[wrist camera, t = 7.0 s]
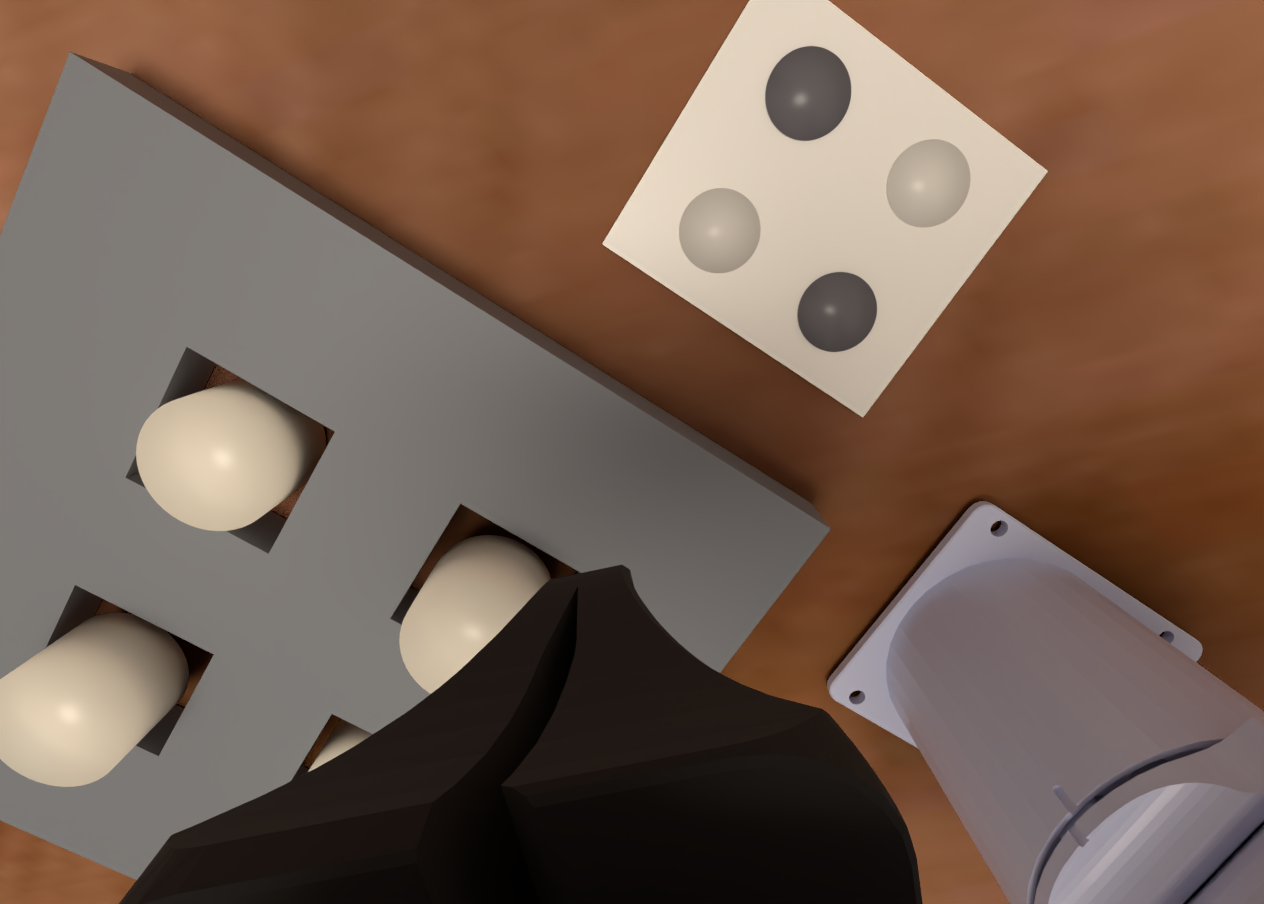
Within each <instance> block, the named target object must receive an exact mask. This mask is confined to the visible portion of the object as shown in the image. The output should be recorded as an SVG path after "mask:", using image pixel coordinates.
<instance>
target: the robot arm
mask: <svg viewBox="0 0 1264 904" xmlns="http://www.w3.org/2000/svg"><path fill="white" fill-rule="evenodd" d="M996 521H1001V526H1000V528H999V529H998V530H996V531H993V532H991V526H992V524H994V523H995V522H996ZM1162 632H1165V633H1164V634H1163V636H1162V637H1160V636H1159V635H1160V634H1161V633H1162ZM1202 651H1203V648H1202V644H1201V643H1200V642H1199V641H1198V640H1196V639H1195V638H1194V637H1192V636H1191V635H1189V634H1188V633H1186V632H1185V631H1183V630H1182V629H1180V628H1179V627H1177V626H1176V625H1174V624H1173V623H1171V622H1170V621H1168V620H1167V619H1165V618H1164V617H1162V616H1161V615H1159V614H1158V613H1156V612H1155V611H1153V610H1152V609H1150V608H1148V607H1147V606H1145V605H1144V604H1142V603H1141V602H1139V601H1138V600H1136V599H1135V598H1133V597H1132V596H1130V595H1129V594H1127V593H1126V592H1124V591H1123V590H1121V589H1120V588H1118V587H1117V586H1115V585H1114V584H1112V583H1111V582H1109V581H1108V580H1106V579H1105V578H1103V577H1102V576H1100V575H1099V574H1097V573H1096V572H1094V571H1093V570H1091V569H1090V568H1088V567H1087V566H1085V565H1084V564H1082V563H1081V562H1079V561H1078V560H1076V559H1075V558H1073V557H1072V556H1070V555H1069V554H1067V553H1066V552H1064V551H1063V550H1061V549H1060V548H1058V547H1057V546H1055V545H1054V544H1052V543H1051V542H1049V541H1048V540H1046V539H1045V538H1043V537H1042V536H1040V535H1039V534H1037V533H1036V532H1034V531H1033V530H1031V529H1030V528H1028V527H1027V526H1025V525H1024V524H1022V523H1021V522H1019V521H1018V520H1016V519H1015V518H1013V517H1012V516H1010V515H1009V514H1007V513H1006V512H1004V511H1003V510H1001V509H1000V508H998V507H997V506H995V505H994V504H992V503H990V502H987V501H979V502H977V503H974V504H973V505H972V506H970V507H969V508H968V509H967V511H966V512H965V513H964V514H963V515H962V517H961V518H960V519H959V520H958V522H957V523H956V524H955V525H954V526H953V528H952V529H951V530H950V531H949V532H948V534H947V535H946V536H945V537H944V539H943V540H942V541H941V542H940V543H939V545H938V546H937V547H936V548H935V550H934V551H933V552H932V553H931V554H930V556H929V557H928V558H927V559H926V560H925V562H924V563H923V564H922V565H921V567H920V568H919V569H918V570H917V571H916V573H915V574H914V575H913V576H912V577H911V579H910V580H909V581H908V582H907V584H906V585H905V586H904V587H903V588H902V590H901V591H900V592H899V593H898V595H897V596H896V597H895V598H894V599H893V601H892V602H891V603H890V604H889V605H888V607H887V608H886V609H885V610H884V612H883V613H882V614H881V615H880V616H879V618H878V619H877V620H876V621H875V622H874V624H873V625H872V626H871V627H870V629H869V630H868V631H867V632H866V633H865V635H864V636H863V637H862V638H861V640H860V641H859V642H858V643H857V644H856V646H855V647H854V648H853V649H852V650H851V652H850V653H849V654H848V655H847V657H846V658H845V659H844V660H843V661H842V663H841V664H840V665H839V666H838V667H837V669H836V670H835V671H834V672H833V674H832V675H831V676H830V677H829V679H828V681H827V688H828V691H829V693H830V695H831V697H832V698H833V699H834V700H835V701H837V702H838V703H840V704H842V705H844V706H845V707H847V708H849V709H851V710H852V711H854V712H856V713H858V714H859V715H861V716H863V717H864V718H866V719H868V720H870V721H871V722H873V723H875V724H877V725H878V726H880V727H882V728H883V729H885V730H887V731H889V732H890V733H892V734H894V735H896V736H897V737H899V738H901V739H902V740H904V741H906V742H908V743H909V744H911V745H913V746H915V747H916V748H918V749H919V750H920V752H921V754H922V756H923V757H924V759H925V761H926V762H927V764H928V766H929V767H930V769H931V771H932V773H933V774H934V776H935V778H936V779H937V781H938V783H939V784H940V786H941V788H942V790H943V791H944V793H945V795H946V796H947V798H948V800H949V801H950V803H951V805H952V807H953V808H954V810H955V812H956V813H957V815H958V817H959V818H960V820H961V822H962V824H963V825H964V827H965V829H966V830H967V832H968V834H969V835H970V837H971V839H972V840H973V842H974V844H975V846H976V847H977V849H978V851H979V852H980V854H981V856H982V857H983V859H984V861H985V863H986V864H987V866H988V868H989V869H990V871H991V873H992V874H993V876H994V878H995V880H996V881H997V883H998V885H999V886H1000V888H1001V890H1002V891H1003V893H1004V895H1005V897H1006V898H1007V900H1008V902H1009V903H1010V904H1264V711H1263V710H1261V709H1260V708H1258V707H1257V706H1256V705H1254V704H1253V703H1251V702H1250V701H1249V700H1247V699H1246V698H1245V697H1243V696H1242V695H1240V694H1239V693H1238V692H1236V691H1235V690H1234V689H1232V688H1231V687H1229V686H1228V685H1227V684H1225V683H1224V682H1222V681H1221V680H1220V679H1218V678H1217V677H1216V676H1214V675H1213V674H1211V673H1210V672H1209V671H1207V670H1206V669H1204V668H1203V667H1202V666H1200V665H1199V664H1198V663H1196V662H1197V661H1198V659H1199V658H1200V657H1201V655H1202ZM857 690H859V691H861V692H860V694H859V695H858V696H855V697H850V694H851V693H852V692H854V691H857ZM119 904H922V896H921V888H920V881H919V873H918V865H917V858H916V854H915V851H914V847H913V844H912V841H911V837H910V834H909V831H908V828H907V826H906V824H905V822H904V820H903V818H902V816H901V814H900V812H899V810H898V808H897V806H896V804H895V803H894V801H893V800H892V798H891V796H890V795H889V793H888V792H887V790H886V788H885V787H884V785H883V784H882V782H881V781H880V779H879V778H878V776H877V775H876V774H875V772H874V771H873V769H872V768H871V766H870V765H869V764H868V762H867V761H866V760H865V758H864V757H863V756H862V754H861V753H860V751H859V750H858V749H857V747H856V746H855V745H854V744H853V742H852V741H851V740H850V739H849V737H848V736H847V735H846V734H845V733H844V731H843V730H842V729H841V728H840V727H839V725H838V724H837V723H836V722H835V721H834V719H833V718H832V717H831V716H830V715H829V714H828V713H827V712H826V711H824V710H823V709H820V708H816V707H812V706H808V705H804V704H800V703H796V702H793V701H789V700H785V699H781V698H777V697H773V696H770V695H767V694H765V693H762V692H760V691H757V690H755V689H752V688H750V687H747V686H744V685H742V684H740V683H738V682H736V681H734V680H731V679H730V678H728V677H726V676H724V675H723V674H721V673H719V672H717V671H715V670H714V669H712V668H710V667H709V666H707V665H706V664H705V663H703V662H702V661H700V660H699V659H698V658H696V657H695V656H694V655H693V654H691V653H690V652H689V651H688V650H686V649H685V648H684V647H683V646H682V645H681V644H679V643H678V642H677V641H676V640H675V639H674V638H673V637H672V636H671V635H670V634H669V633H668V632H667V631H666V630H665V629H664V628H663V626H662V625H661V624H660V623H659V622H658V621H657V620H656V618H655V617H654V616H653V615H652V613H651V612H650V611H649V609H648V608H647V607H646V605H645V604H644V603H643V601H642V600H641V598H640V597H639V595H638V593H637V592H636V590H635V588H634V584H633V579H632V575H631V571H630V569H628V568H627V567H625V566H624V565H617V566H613V567H608V568H603V569H598V570H593V571H588V572H583V573H578V574H574V575H569V576H564V577H559V578H554V579H550V580H549V581H548V582H546V583H545V584H544V585H543V586H542V587H541V588H540V589H539V590H538V591H537V592H536V593H535V594H534V596H533V597H532V598H531V599H530V600H529V601H528V602H527V603H526V604H525V605H524V606H523V607H522V609H521V610H520V611H519V612H518V613H517V614H516V615H515V616H514V617H513V618H512V619H511V620H510V621H509V622H508V623H507V625H506V626H505V627H504V628H503V629H502V630H501V631H500V632H499V633H498V634H497V635H496V636H495V637H494V638H493V639H492V640H491V641H490V642H489V643H488V644H487V645H486V646H485V647H484V648H483V649H481V650H480V651H479V652H478V653H477V654H476V655H475V656H474V657H473V658H472V659H471V660H470V661H469V662H468V663H467V664H466V665H465V666H464V667H463V668H462V669H460V670H459V671H458V672H457V673H456V674H455V675H454V676H452V677H451V678H450V679H449V680H448V681H446V682H445V683H444V684H443V685H442V686H440V687H439V688H438V689H437V690H435V691H434V692H433V693H431V694H430V695H429V696H427V697H426V698H425V699H424V700H422V701H421V702H420V703H418V704H417V705H416V706H414V707H413V708H412V709H410V710H409V711H407V712H406V713H405V714H403V715H402V716H400V717H399V718H397V719H396V720H394V721H392V722H391V723H389V724H388V725H386V726H385V727H383V728H382V729H380V730H379V731H377V732H376V733H374V734H372V735H371V736H369V737H368V738H366V739H365V740H363V741H362V742H360V743H359V744H357V745H356V746H354V747H352V748H351V749H349V750H347V751H346V752H344V753H342V754H340V755H339V756H337V757H335V758H333V759H331V760H330V761H328V762H326V763H324V764H323V765H321V766H319V767H317V768H315V769H313V770H311V771H310V772H308V773H306V774H304V775H302V776H300V777H298V778H296V779H294V780H292V781H290V782H288V783H286V784H285V785H283V786H281V787H278V788H276V789H274V790H272V791H270V792H268V793H266V794H264V795H262V796H260V797H258V798H255V799H253V800H251V801H249V802H246V803H244V804H242V805H240V806H237V807H235V808H233V809H230V810H228V811H226V812H224V813H221V814H219V815H217V816H215V817H212V818H210V819H208V820H206V821H203V822H201V823H199V824H197V825H194V826H192V827H190V828H187V829H185V830H182V831H180V832H177V833H175V834H172V835H171V836H170V837H169V839H168V840H167V841H166V842H165V844H164V845H163V846H162V848H161V849H160V850H159V852H158V853H157V854H156V856H155V857H154V858H153V860H152V861H151V862H150V864H149V865H148V866H147V868H146V869H145V870H144V871H143V873H142V874H141V875H140V877H139V878H138V879H137V881H136V882H135V883H134V885H133V886H132V887H131V889H130V890H129V891H128V893H127V894H126V895H125V897H124V898H123V899H122V900H121V902H120V903H119Z"/></svg>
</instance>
